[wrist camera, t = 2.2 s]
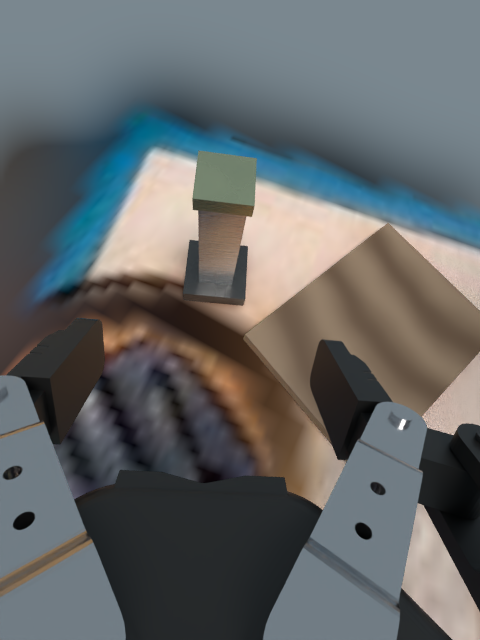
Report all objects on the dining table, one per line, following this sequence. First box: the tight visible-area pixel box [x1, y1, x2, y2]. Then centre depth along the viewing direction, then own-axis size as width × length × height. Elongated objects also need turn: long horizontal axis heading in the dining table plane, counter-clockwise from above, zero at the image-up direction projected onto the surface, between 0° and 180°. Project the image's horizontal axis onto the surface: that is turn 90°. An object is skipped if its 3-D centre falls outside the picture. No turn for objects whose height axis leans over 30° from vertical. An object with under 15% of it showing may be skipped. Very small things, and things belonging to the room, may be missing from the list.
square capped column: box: [183, 151, 257, 306], centre depth 25 cm, size 6×6×13 cm
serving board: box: [243, 223, 480, 462], centre depth 31 cm, size 20×15×2 cm
